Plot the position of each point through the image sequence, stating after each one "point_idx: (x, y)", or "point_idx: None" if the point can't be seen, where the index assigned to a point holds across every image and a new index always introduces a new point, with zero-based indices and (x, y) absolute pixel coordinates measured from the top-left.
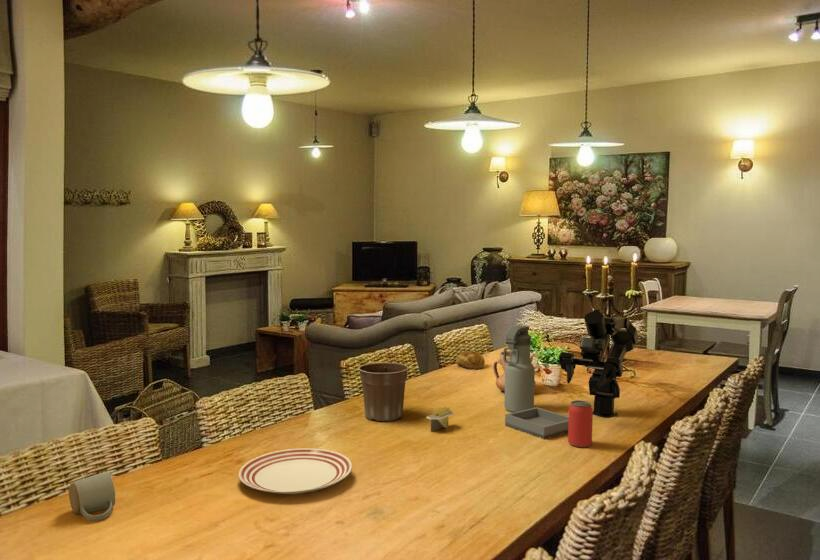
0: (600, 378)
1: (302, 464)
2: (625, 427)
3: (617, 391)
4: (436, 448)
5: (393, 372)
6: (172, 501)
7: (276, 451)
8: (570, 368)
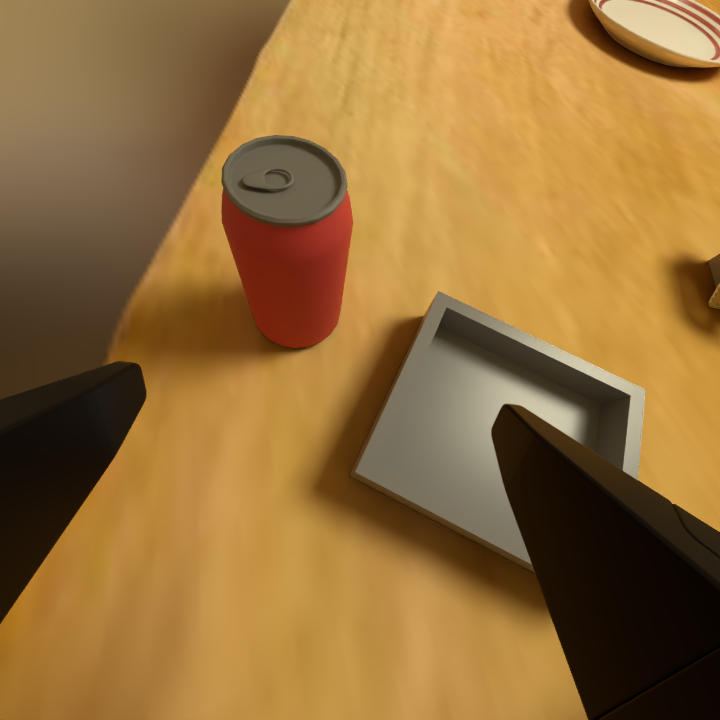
0: (25, 408)
1: (688, 54)
2: (85, 699)
3: None
4: (605, 169)
5: None
6: None
7: None
8: (707, 572)
